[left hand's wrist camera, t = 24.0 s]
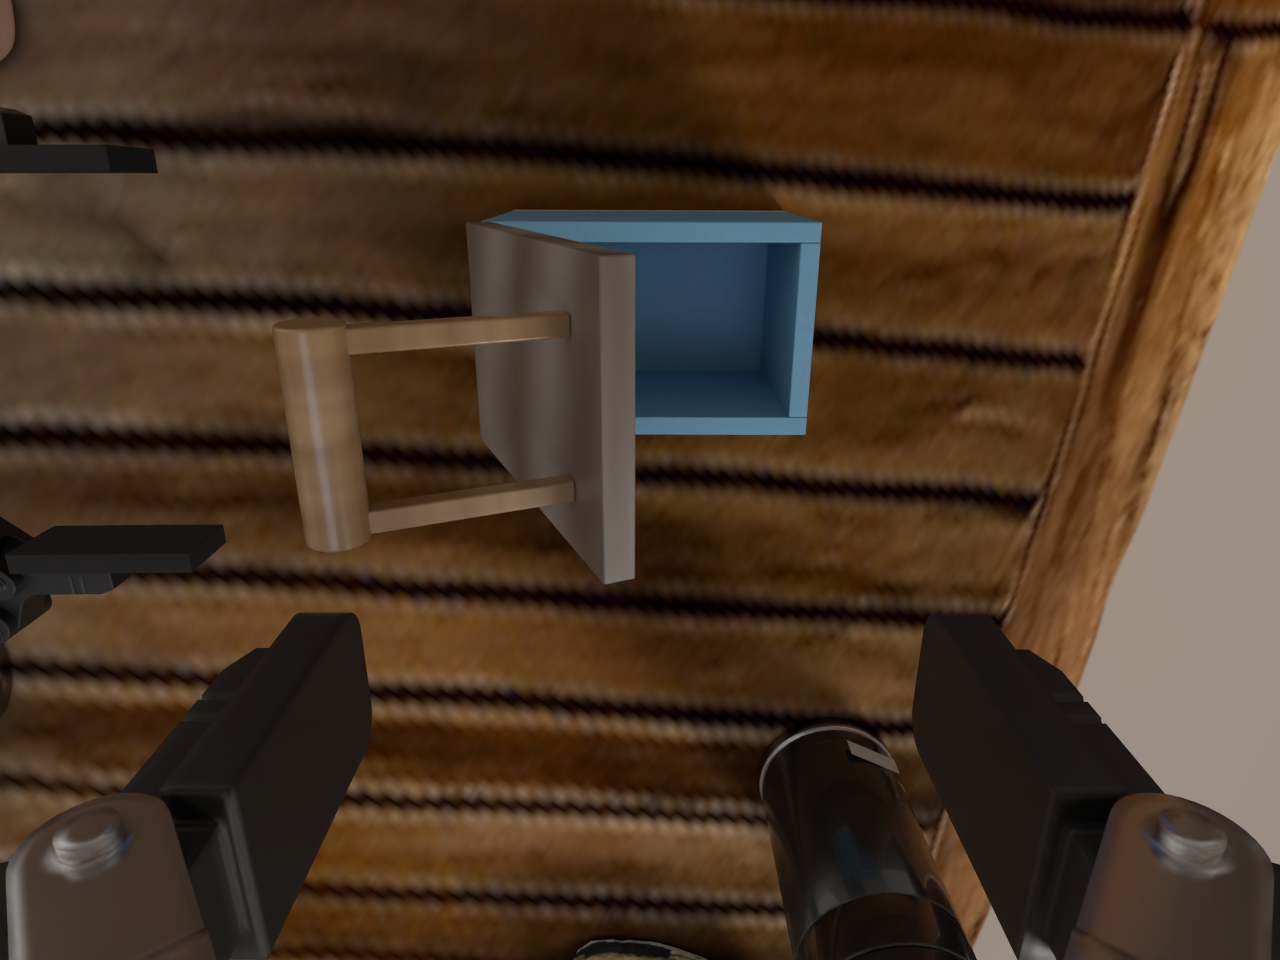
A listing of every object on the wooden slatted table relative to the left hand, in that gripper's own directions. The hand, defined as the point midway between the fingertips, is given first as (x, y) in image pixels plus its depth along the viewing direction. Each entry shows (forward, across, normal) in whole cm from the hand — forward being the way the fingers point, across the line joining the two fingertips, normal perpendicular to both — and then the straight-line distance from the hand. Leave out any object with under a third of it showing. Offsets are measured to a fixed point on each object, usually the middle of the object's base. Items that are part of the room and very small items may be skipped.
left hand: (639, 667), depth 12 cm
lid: (+19, +3, 0) cm, 19 cm away
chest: (+36, 0, 0) cm, 36 cm away
